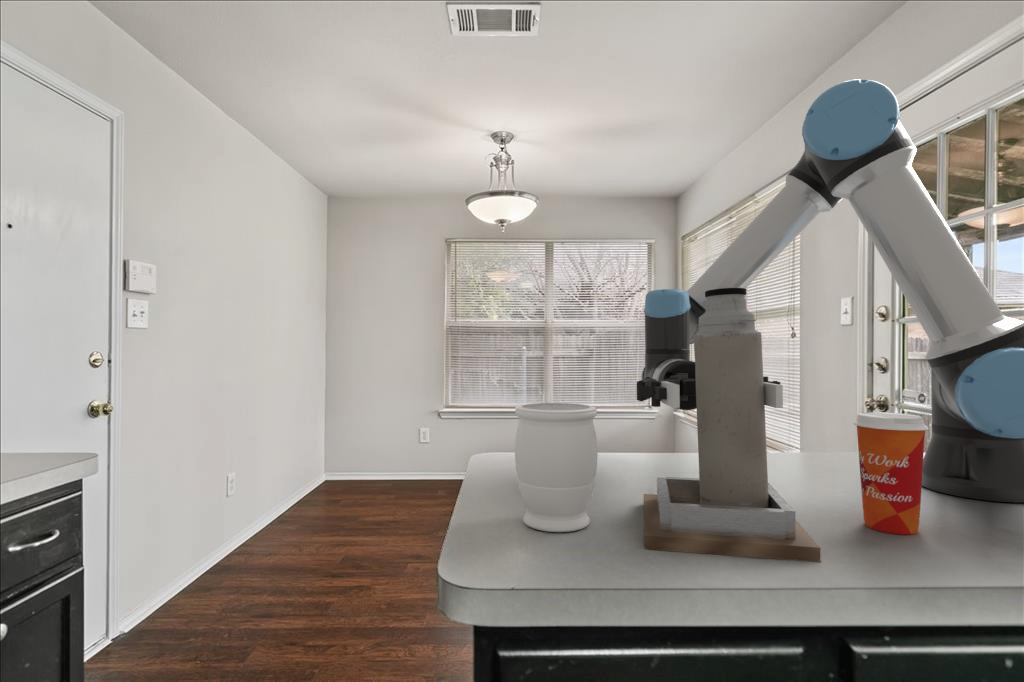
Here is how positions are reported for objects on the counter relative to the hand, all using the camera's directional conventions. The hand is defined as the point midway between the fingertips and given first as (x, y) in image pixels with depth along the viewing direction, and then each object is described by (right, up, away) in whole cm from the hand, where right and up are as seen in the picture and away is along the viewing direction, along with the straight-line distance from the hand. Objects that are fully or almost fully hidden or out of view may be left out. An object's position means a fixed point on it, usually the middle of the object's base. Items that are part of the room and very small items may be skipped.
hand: (727, 396), depth 66 cm
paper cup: (+22, -17, +4) cm, 28 cm away
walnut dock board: (0, -17, +4) cm, 17 cm away
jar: (-20, -17, +6) cm, 27 cm away
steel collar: (0, -15, +4) cm, 16 cm away
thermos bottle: (+3, -15, +4) cm, 16 cm away
